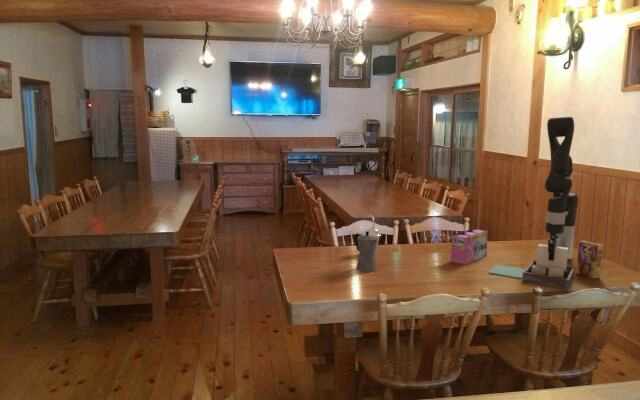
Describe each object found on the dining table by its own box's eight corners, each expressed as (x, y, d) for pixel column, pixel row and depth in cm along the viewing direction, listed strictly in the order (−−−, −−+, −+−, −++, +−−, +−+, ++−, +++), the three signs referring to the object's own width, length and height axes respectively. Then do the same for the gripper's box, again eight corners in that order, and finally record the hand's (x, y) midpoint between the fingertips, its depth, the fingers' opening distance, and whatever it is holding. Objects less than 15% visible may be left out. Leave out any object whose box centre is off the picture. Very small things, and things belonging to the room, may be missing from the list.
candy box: (600, 277, 218) (603, 244, 215) (594, 279, 215) (598, 245, 213) (581, 272, 225) (584, 240, 223) (575, 273, 223) (578, 241, 221)
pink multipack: (474, 252, 257) (475, 227, 254) (488, 255, 251) (490, 230, 249) (450, 261, 240) (451, 234, 238) (464, 265, 235) (466, 237, 232)
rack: (530, 270, 227) (531, 259, 227) (573, 277, 218) (574, 266, 217) (522, 281, 212) (523, 270, 211) (568, 289, 202) (569, 277, 201)
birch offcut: (548, 281, 212) (550, 265, 211) (563, 283, 209) (564, 267, 208) (547, 283, 209) (548, 267, 208) (561, 286, 206) (563, 270, 205)
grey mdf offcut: (532, 278, 216) (533, 265, 215) (545, 280, 213) (547, 267, 212) (530, 280, 213) (531, 267, 212) (544, 283, 210) (545, 269, 209)
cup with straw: (362, 255, 250) (363, 216, 247) (365, 250, 258) (366, 213, 255) (378, 256, 247) (380, 218, 244) (381, 251, 256) (383, 214, 253)
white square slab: (536, 271, 223) (539, 243, 221) (565, 276, 217) (568, 247, 214) (535, 273, 220) (537, 245, 218) (564, 278, 214) (567, 249, 212)
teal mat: (496, 265, 233) (496, 264, 233) (527, 271, 226) (527, 269, 226) (488, 273, 222) (488, 272, 222) (521, 279, 214) (521, 277, 214)
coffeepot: (383, 271, 224) (384, 233, 221) (367, 274, 219) (368, 235, 216) (362, 262, 236) (363, 226, 233) (346, 265, 231) (347, 228, 228)
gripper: (548, 217, 222) (545, 254, 225) (543, 223, 210) (539, 261, 213) (566, 219, 218) (563, 256, 221) (562, 225, 206) (558, 264, 209)
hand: (551, 259), depth 217 cm, fingers closed on white square slab, 3 cm apart
